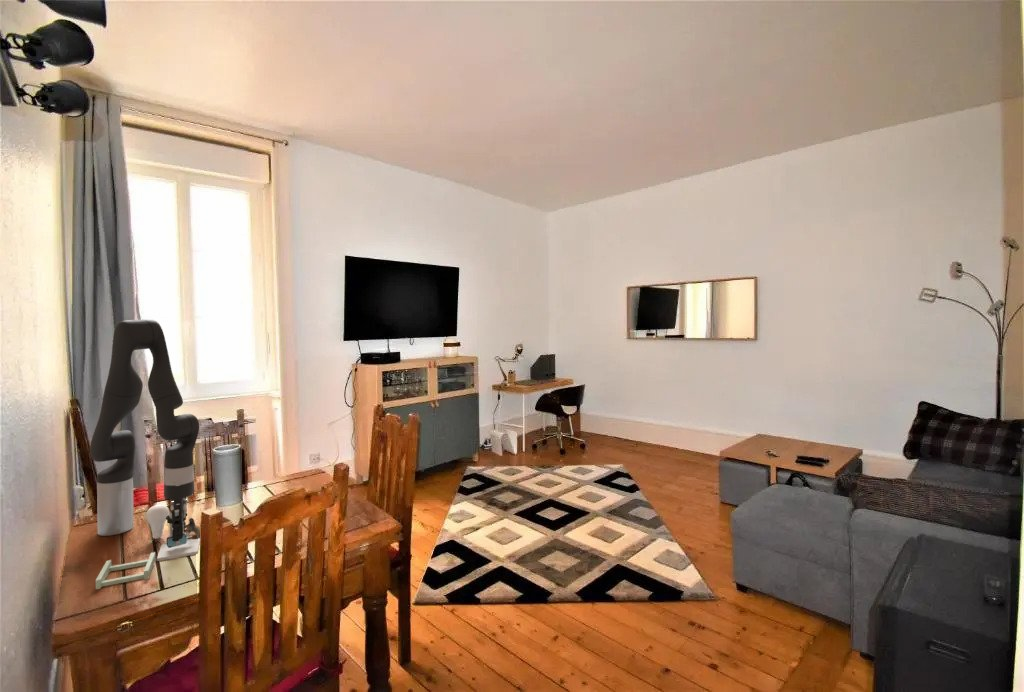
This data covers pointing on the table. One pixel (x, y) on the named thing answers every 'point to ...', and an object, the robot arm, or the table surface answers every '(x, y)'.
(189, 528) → the eagle figurine
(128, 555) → the table surface
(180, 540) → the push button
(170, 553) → the tile
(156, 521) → the lightbulb
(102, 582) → the frame
